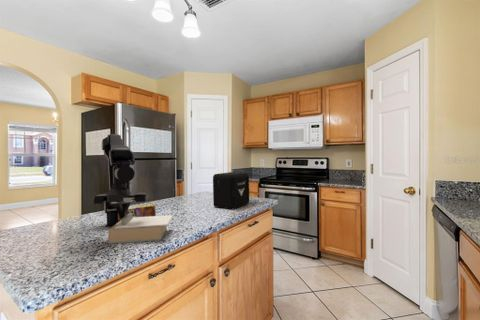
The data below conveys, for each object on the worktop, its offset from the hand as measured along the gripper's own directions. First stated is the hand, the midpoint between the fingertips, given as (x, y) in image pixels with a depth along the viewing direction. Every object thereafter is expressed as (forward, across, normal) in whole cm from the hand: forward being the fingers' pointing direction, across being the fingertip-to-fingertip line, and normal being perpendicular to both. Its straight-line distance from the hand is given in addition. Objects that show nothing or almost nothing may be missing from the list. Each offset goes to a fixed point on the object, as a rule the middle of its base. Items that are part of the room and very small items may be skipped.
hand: (122, 220), depth 90 cm
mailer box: (+7, +6, 0) cm, 9 cm away
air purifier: (+7, +48, +48) cm, 68 cm away
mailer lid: (+1, +9, 0) cm, 9 cm away
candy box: (+2, +9, +17) cm, 19 cm away
